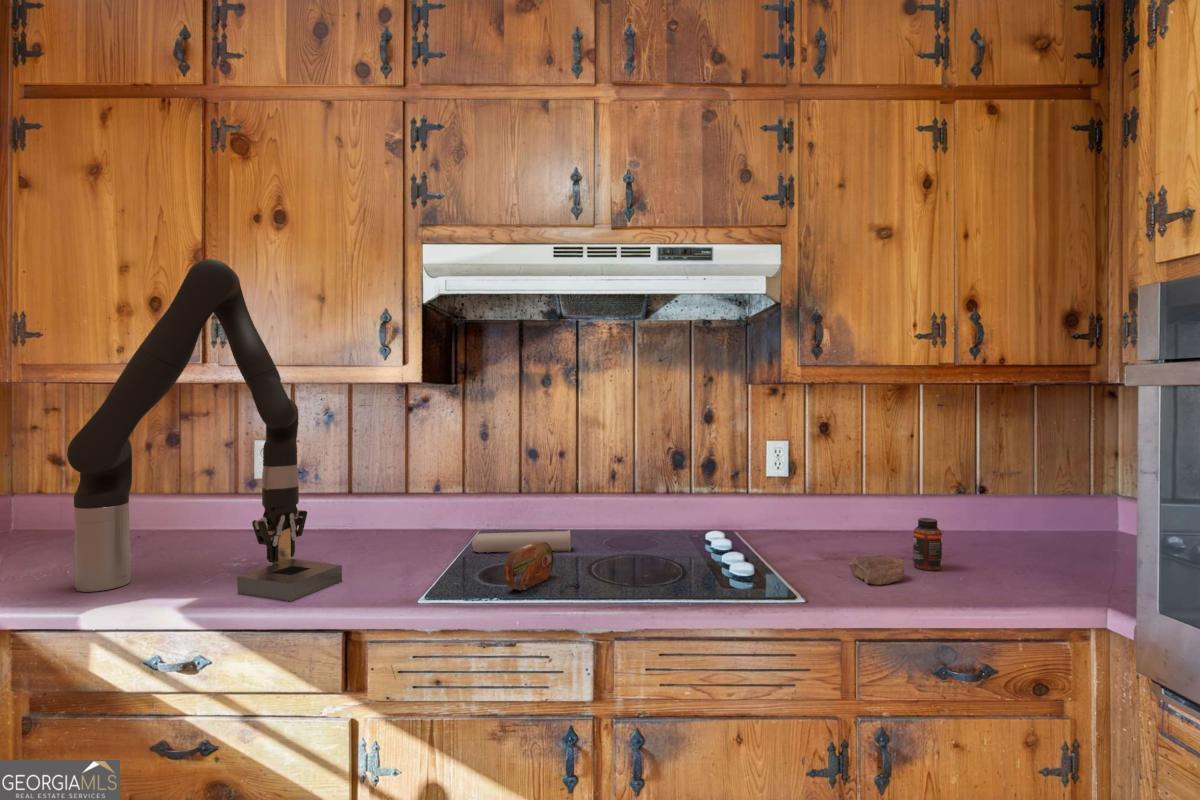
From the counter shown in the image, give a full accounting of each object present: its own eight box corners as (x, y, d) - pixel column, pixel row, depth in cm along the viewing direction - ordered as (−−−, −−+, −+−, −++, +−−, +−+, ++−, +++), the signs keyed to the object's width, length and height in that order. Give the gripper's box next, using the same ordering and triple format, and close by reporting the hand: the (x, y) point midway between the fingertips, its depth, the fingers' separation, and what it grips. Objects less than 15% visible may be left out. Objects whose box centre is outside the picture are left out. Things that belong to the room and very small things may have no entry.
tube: (469, 540, 161) (570, 537, 163) (472, 529, 166) (569, 526, 168) (471, 558, 163) (570, 555, 165) (473, 546, 168) (569, 544, 170)
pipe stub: (267, 569, 148) (267, 529, 148) (281, 564, 152) (281, 526, 151) (280, 571, 146) (280, 531, 146) (294, 566, 150) (294, 527, 150)
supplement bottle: (947, 569, 149) (948, 520, 149) (932, 573, 146) (932, 523, 146) (922, 563, 155) (923, 515, 154) (907, 566, 152) (908, 518, 151)
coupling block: (237, 593, 132) (237, 576, 132) (291, 574, 145) (291, 558, 145) (290, 601, 127) (290, 583, 127) (341, 581, 141) (341, 565, 140)
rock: (869, 587, 137) (869, 565, 136) (840, 574, 146) (840, 553, 146) (916, 583, 139) (916, 561, 139) (884, 570, 149) (885, 549, 149)
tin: (513, 596, 131) (513, 554, 131) (501, 593, 133) (501, 552, 132) (554, 576, 144) (554, 538, 144) (543, 574, 146) (542, 537, 145)
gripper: (292, 479, 156) (292, 550, 157) (241, 488, 143) (242, 565, 144) (317, 481, 154) (317, 553, 154) (267, 490, 141) (267, 569, 141)
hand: (281, 558), depth 149 cm, fingers closed on pipe stub, 4 cm apart
